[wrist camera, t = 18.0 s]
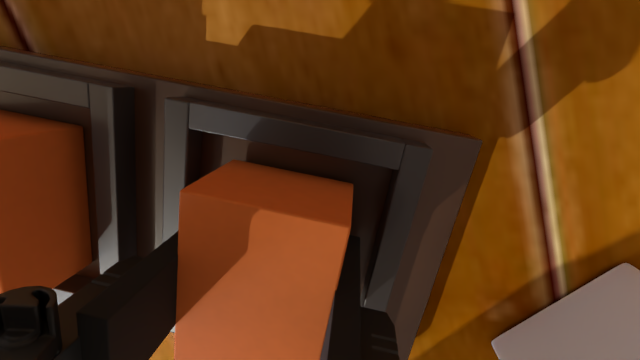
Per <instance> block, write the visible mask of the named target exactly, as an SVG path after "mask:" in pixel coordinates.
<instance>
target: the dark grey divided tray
mask: <svg viewBox="0 0 640 360" xmlns="http://www.w3.org/2000/svg"><path fill="white" fill-rule="evenodd" d="M0 110H5V111H10V112H15V113H20V114H25V115H30V116H35V117H40V118H45V119H50V120H54V121H59V122H64V123H69V124H74V125H79V126H82V127H83V133H84V148H85V163H86V177H87V192H88V206H89V221H90V235H91V250H92V263H91V264H89V265H88V266H86V267H85V268H83V269H82V270H80V271H79V272H77V273H76V274H74V275H73V276H71V277H70V278H68V279H67V280H65V281H64V282H62V283H60V284H59V285H57V286H56V287H54V288H53V290H54V291H55V292H56V293H57V302H58V305H59V304H60V303H62V302H63V301H64V300H66V299H67V298H69V297H70V296H71V295H73V294H74V293H75V292H77V291H78V290H80V289H81V288H82V287H84V286H85V285H86V284H88V283H91V282H92V280H93V279H95V278H96V277H97V276H99V275H100V274H103V272H104V271H106V270H107V269H108V268H110V267H111V266H113V265H114V264H115V263H117V262H119V261H121V260H124V259H126V258H129V257H131V256H134V255H135V256H139V257H143V258H145V257H146V256H147V255H149V254H150V253H151V252H152V251H154V250H155V249H156V248H157V247H159V246H160V245H161V244H162V243H164V242H165V241H166V240H167V239H169V238H170V237H171V236H172V235H174V234H175V233H176V232H177V231H178V228H179V199H180V191H181V190H182V189H183V188H185V187H187V186H189V185H190V184H192V183H194V182H195V181H197V180H199V179H201V178H202V177H204V176H206V175H208V174H209V173H211V172H213V171H214V170H216V169H218V168H220V167H221V166H223V165H225V164H227V163H228V162H230V161H232V160H234V159H235V160H240V161H245V162H250V163H254V164H259V165H264V166H269V167H274V168H279V169H284V170H289V171H294V172H298V173H303V174H308V175H313V176H318V177H323V178H328V179H333V180H337V181H342V182H347V183H352V184H353V203H352V219H351V230H350V235H353V236H357V237H360V306H361V307H365V308H370V309H374V310H378V311H383V312H387V314H388V316H389V317H390V319H391V321H392V322H393V324H394V326H395V331H396V338H397V345H398V355H399V359H400V360H408V357H409V354H410V351H411V348H412V345H413V342H414V339H415V336H416V333H417V331H418V328H419V325H420V322H421V319H422V316H423V313H424V310H425V307H426V304H427V302H428V299H429V296H430V293H431V290H432V287H433V284H434V281H435V278H436V275H437V272H438V270H439V267H440V264H441V261H442V258H443V255H444V252H445V249H446V246H447V243H448V241H449V238H450V235H451V232H452V229H453V226H454V223H455V220H456V217H457V214H458V211H459V209H460V206H461V203H462V200H463V197H464V194H465V191H466V188H467V185H468V182H469V179H470V177H471V174H472V171H473V168H474V165H475V162H476V159H477V156H478V153H479V150H480V148H481V145H482V140H480V139H478V138H476V137H473V136H471V135H469V134H464V133H458V132H453V131H448V130H442V129H437V128H432V127H427V126H421V125H416V124H411V123H405V122H400V121H395V120H390V119H384V118H379V117H374V116H368V115H363V114H358V113H353V112H347V111H342V110H337V109H331V108H326V107H321V106H316V105H310V104H305V103H300V102H294V101H289V100H284V99H279V98H273V97H268V96H263V95H257V94H252V93H247V92H242V91H236V90H231V89H226V88H220V87H215V86H210V85H205V84H199V83H194V82H189V81H183V80H178V79H173V78H168V77H162V76H157V75H152V74H146V73H141V72H136V71H131V70H125V69H120V68H115V67H109V66H104V65H99V64H94V63H88V62H83V61H78V60H72V59H67V58H62V57H57V56H51V55H46V54H41V53H35V52H30V51H25V50H20V49H14V48H9V47H4V46H0ZM170 332H173V333H175V326H174V327H173V328H172V330H171V331H170Z"/></svg>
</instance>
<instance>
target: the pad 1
mask: <svg viewBox="0 0 640 360" xmlns="http://www.w3.org/2000/svg"><path fill="white" fill-rule="evenodd" d="M91 263H92V250H91V235H90V221H89V206H88V192H87V177H86V163H85V148H84V133H83V127H82V126H79V125H74V124H69V123H64V122H59V121H54V120H50V119H45V118H40V117H35V116H30V115H25V114H20V113H15V112H10V111H5V110H0V294H1V293H4V292H6V291H9V290H12V289H17V288H21V287H26V286H44V287H49V288H51V289H53V288H54V287H56V286H57V285H59V284H60V283H62V282H64V281H65V280H67V279H68V278H70V277H71V276H73V275H74V274H76V273H77V272H79V271H80V270H82V269H83V268H85V267H86V266H88V265H89V264H91Z"/></svg>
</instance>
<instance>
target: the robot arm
mask: <svg viewBox="0 0 640 360" xmlns="http://www.w3.org/2000/svg"><path fill="white" fill-rule="evenodd" d="M177 271H178V231H177V232H176V233H175V234H174V235H172V236H171V237H170V238H169V239H167V240H166V241H165V242H164V243H162V244H161V245H160V246H159V247H157V248H156V249H155V250H154V251H152V252H151V253H150V254H149V255H147V256H146V257H145V258H143V257H139V256H135V255H134V256H131V257H129V258H126V259H124V260H121V261H119V262H117V263H115V264H114V265H113V266H111V267H110V268H108V269H107V270H106V271H104V272H103V274H100V275H99V276H97V277H96V278H95V279H93V280H92V282H91V283H88V284H86V285H85V286H84V287H82V288H81V289H80V290H78V291H77V292H75V293H74V294H73V295H71V296H70V297H69V298H67V299H66V300H64V301H63V302H62V303H60V304H59V305H58V302H57V293H56V292H55V291H54V290H53V289H51V288H49V287H44V286H26V287H21V288H17V289H12V290H9V291H6V292H4V293H1V294H0V360H149V358H150V357H151V356H152V354H153V353H154V352H155V351H156V349H157V348H158V347H159V345H160V344H161V343H162V341H163V340H164V339H165V338H166V336H167V335H168V334H169V332H170V331H171V330H172V328H173V327H174V326H175V325H176V299H177ZM320 360H400V359H399V355H398V345H397V338H396V331H395V326H394V324H393V322H392V321H391V319H390V317H389V316H388V314H387V312H383V311H378V310H374V309H370V308H365V307H361V306H360V237H357V236H353V235H349V239H348V243H347V248H346V252H345V257H344V261H343V265H342V270H341V274H340V278H339V283H338V287H337V290H336V291H335V295H334V299H333V303H332V308H331V312H330V317H329V321H328V325H327V330H326V334H325V339H324V343H323V347H322V352H321V356H320Z"/></svg>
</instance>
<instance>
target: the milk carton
mask: <svg viewBox="0 0 640 360" xmlns="http://www.w3.org/2000/svg"><path fill="white" fill-rule="evenodd" d="M491 344H492V347H493V349H494V351H495V353H496V355H497V357H498V359H499V360H640V270H638V269H637V268H635V267H634V266H632V265H630V264H629V263H623V264H620V265H618V266H617V267H615V268H613V269H611V270H610V271H608V272H606V273H604V274H603V275H601V276H599V277H598V278H596V279H594V280H593V281H591V282H589V283H588V284H586V285H584V286H583V287H581V288H579V289H577V290H576V291H574V292H572V293H571V294H569V295H567V296H566V297H564V298H562V299H561V300H559V301H557V302H555V303H554V304H552V305H550V306H549V307H547V308H545V309H544V310H542V311H540V312H539V313H537V314H535V315H534V316H532V317H530V318H528V319H527V320H525V321H523V322H522V323H520V324H518V325H517V326H515V327H513V328H512V329H510V330H508V331H507V332H505V333H503V334H502V335H500V336H498V337H497V338H495V339H494V340H492V343H491Z"/></svg>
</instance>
